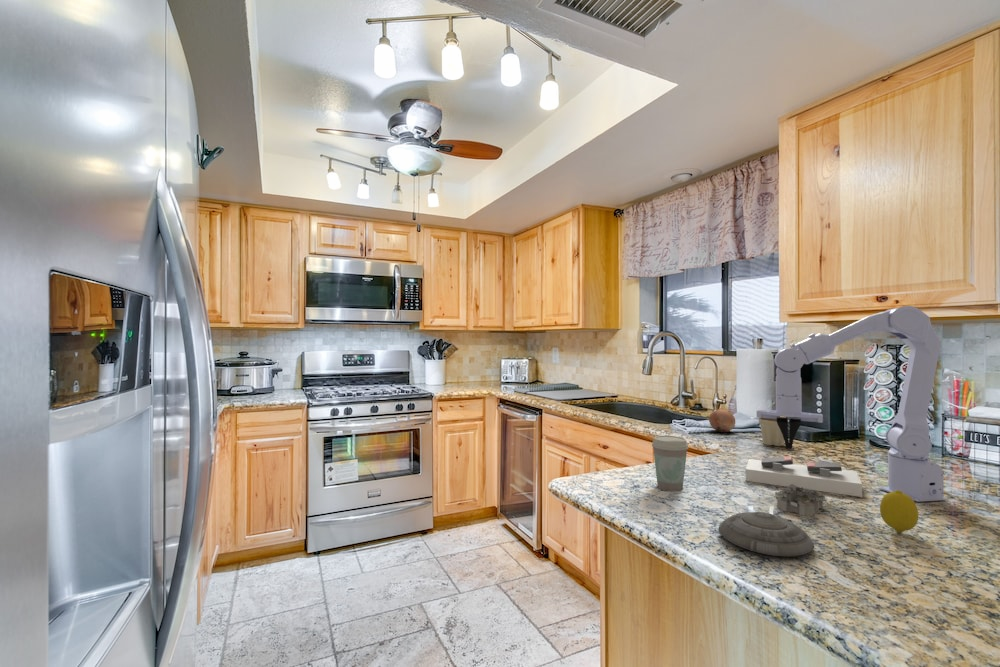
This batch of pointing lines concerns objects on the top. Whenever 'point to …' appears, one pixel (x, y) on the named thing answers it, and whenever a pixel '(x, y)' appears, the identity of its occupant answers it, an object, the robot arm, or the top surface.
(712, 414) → the onion
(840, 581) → the top surface
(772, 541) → the flying saucer
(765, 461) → the breaker far
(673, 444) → the coffee cup
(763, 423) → the flower pot
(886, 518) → the lemon
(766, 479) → the breaker panel
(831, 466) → the breaker near
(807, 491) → the grey stone ruin model
